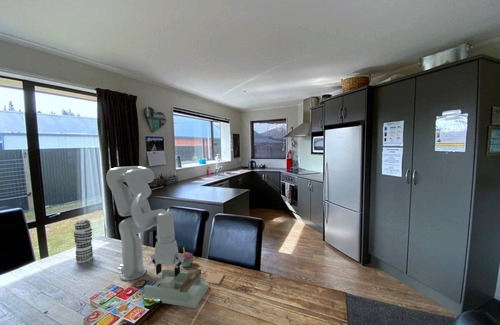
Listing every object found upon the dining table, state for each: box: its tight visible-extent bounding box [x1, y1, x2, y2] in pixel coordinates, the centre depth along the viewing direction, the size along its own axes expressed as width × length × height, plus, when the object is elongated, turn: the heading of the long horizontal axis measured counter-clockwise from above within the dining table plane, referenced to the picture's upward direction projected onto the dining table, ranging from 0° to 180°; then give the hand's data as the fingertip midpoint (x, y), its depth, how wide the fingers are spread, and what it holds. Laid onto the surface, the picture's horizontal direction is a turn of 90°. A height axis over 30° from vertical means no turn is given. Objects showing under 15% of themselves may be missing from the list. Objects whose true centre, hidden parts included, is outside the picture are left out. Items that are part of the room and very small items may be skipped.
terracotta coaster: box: [203, 272, 225, 286], centre depth 109 cm, size 8×8×1 cm
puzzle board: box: [142, 268, 210, 309], centre depth 98 cm, size 26×14×7 cm, turn 78°
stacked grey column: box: [73, 219, 94, 264], centre depth 132 cm, size 9×9×25 cm
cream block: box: [160, 276, 175, 289], centre depth 99 cm, size 4×4×6 cm
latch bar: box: [180, 268, 202, 292], centre depth 96 cm, size 3×14×5 cm, turn 168°
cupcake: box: [178, 246, 194, 268], centre depth 123 cm, size 9×8×12 cm
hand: (168, 273), depth 99 cm, fingers open, 9 cm apart
